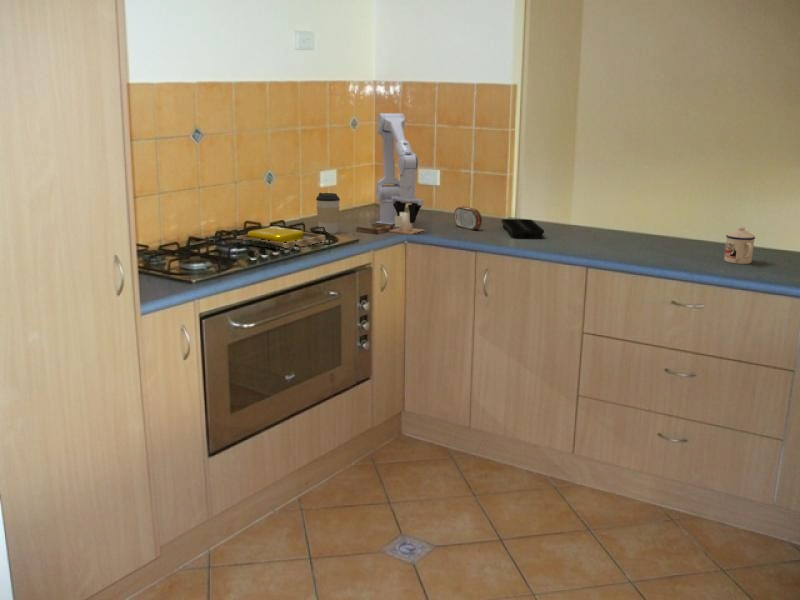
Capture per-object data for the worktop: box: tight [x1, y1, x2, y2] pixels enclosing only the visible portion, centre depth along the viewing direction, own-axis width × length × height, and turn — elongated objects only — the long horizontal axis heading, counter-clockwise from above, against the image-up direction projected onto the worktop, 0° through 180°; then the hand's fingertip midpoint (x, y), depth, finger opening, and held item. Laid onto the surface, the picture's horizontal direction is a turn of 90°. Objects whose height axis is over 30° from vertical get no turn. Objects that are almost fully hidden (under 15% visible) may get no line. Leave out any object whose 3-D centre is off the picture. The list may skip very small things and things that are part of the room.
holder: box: [356, 223, 394, 235], centre depth 334 cm, size 11×9×2 cm
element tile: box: [247, 226, 304, 243], centre depth 306 cm, size 15×15×5 cm
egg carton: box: [501, 218, 545, 240], centre depth 338 cm, size 18×30×4 cm, turn 14°
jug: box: [394, 210, 413, 231], centre depth 332 cm, size 8×5×7 cm, turn 132°
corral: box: [236, 231, 326, 248], centre depth 305 cm, size 22×22×2 cm
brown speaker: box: [453, 205, 483, 231], centre depth 344 cm, size 15×3×8 cm, turn 34°
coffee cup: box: [315, 192, 341, 235], centre depth 327 cm, size 9×9×15 cm
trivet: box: [388, 227, 426, 236], centre depth 334 cm, size 10×10×1 cm
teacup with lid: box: [723, 226, 756, 265], centre depth 287 cm, size 12×9×12 cm
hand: (406, 222), depth 333 cm, fingers open, 5 cm apart
